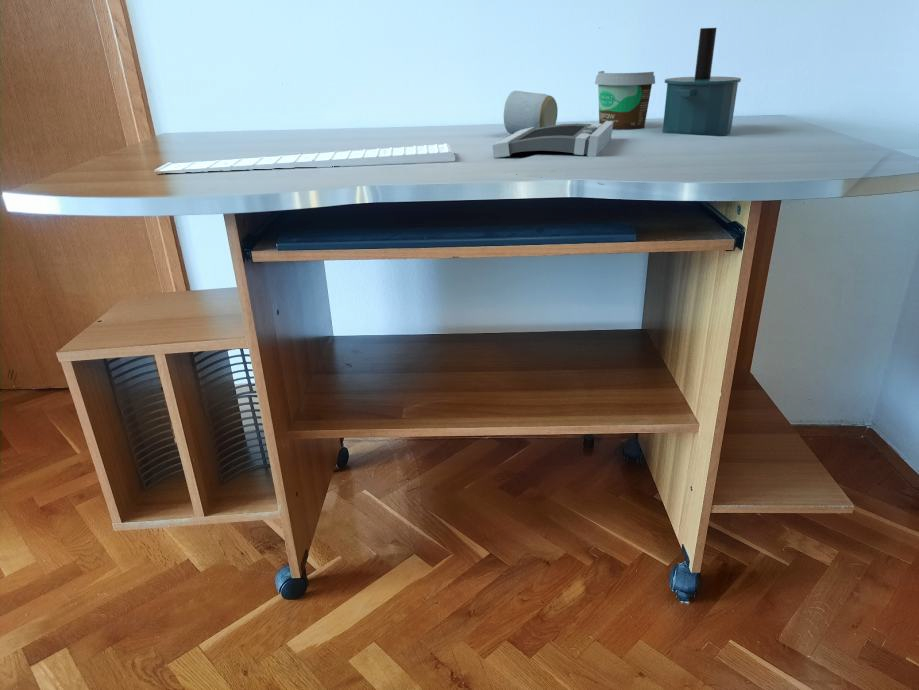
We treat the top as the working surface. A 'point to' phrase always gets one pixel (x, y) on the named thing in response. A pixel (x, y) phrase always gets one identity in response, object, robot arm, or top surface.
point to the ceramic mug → (529, 111)
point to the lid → (704, 63)
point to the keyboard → (326, 159)
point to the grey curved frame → (557, 139)
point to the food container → (624, 98)
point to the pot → (699, 109)
